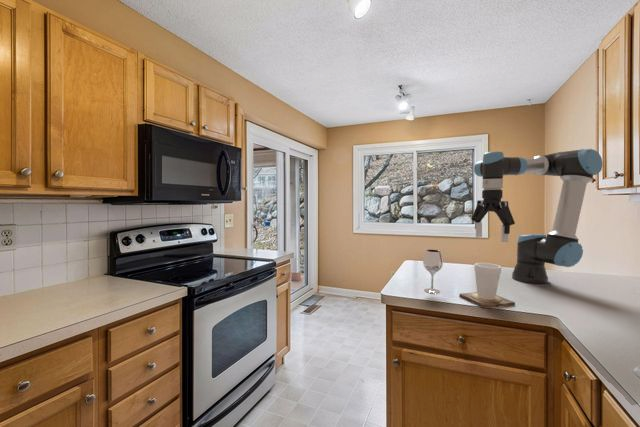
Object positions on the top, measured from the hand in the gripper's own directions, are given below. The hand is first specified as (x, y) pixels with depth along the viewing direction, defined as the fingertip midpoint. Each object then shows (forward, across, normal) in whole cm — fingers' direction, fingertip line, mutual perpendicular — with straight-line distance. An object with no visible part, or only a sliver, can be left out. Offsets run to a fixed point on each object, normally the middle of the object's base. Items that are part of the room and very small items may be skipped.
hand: (491, 239), depth 134 cm
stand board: (+24, +6, -8) cm, 26 cm away
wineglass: (+23, -10, -22) cm, 34 cm away
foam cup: (+22, +6, -8) cm, 25 cm away
